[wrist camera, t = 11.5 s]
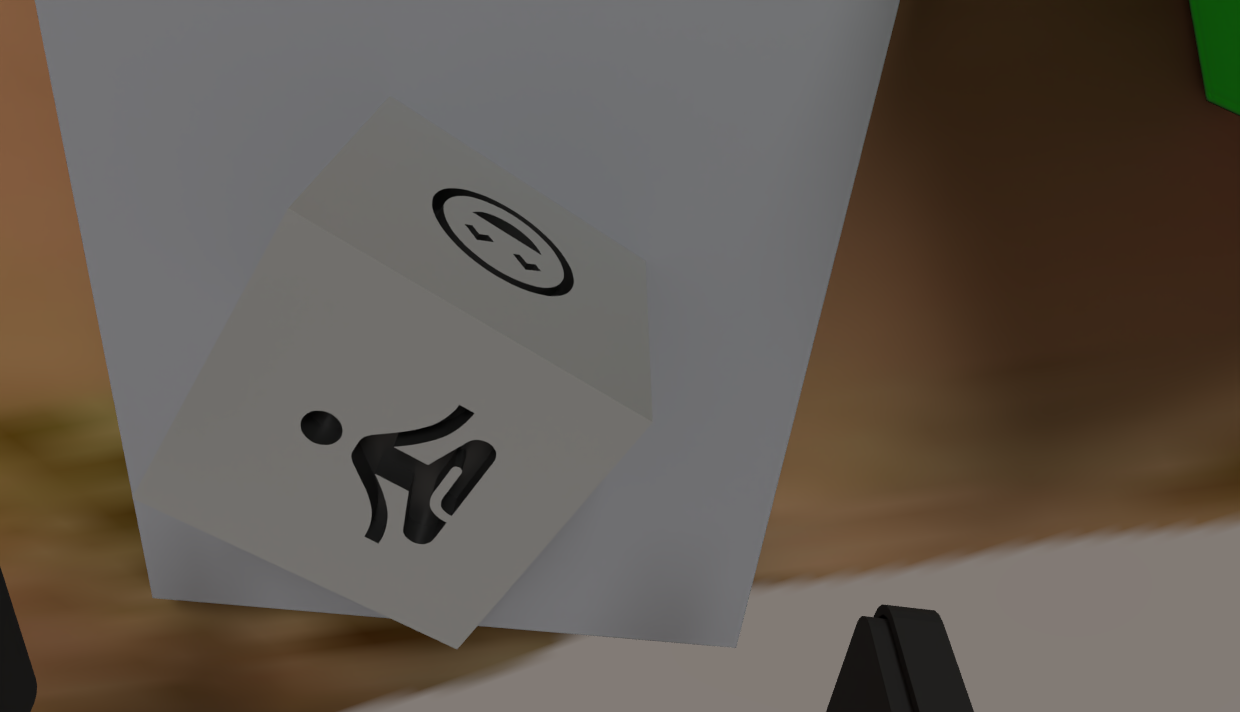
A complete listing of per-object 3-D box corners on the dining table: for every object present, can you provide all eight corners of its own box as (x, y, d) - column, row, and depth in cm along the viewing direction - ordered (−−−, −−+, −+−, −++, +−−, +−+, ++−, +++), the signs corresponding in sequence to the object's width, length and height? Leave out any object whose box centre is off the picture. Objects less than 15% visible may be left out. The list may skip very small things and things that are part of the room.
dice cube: (497, 451, 18) (456, 649, 14) (261, 323, 16) (131, 498, 12) (645, 260, 16) (652, 422, 11) (389, 95, 14) (288, 208, 10)
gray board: (898, -84, 14) (919, -77, 13) (730, 608, 22) (736, 648, 21) (44, -193, 13) (-4, -196, 12) (176, 559, 21) (152, 597, 20)
